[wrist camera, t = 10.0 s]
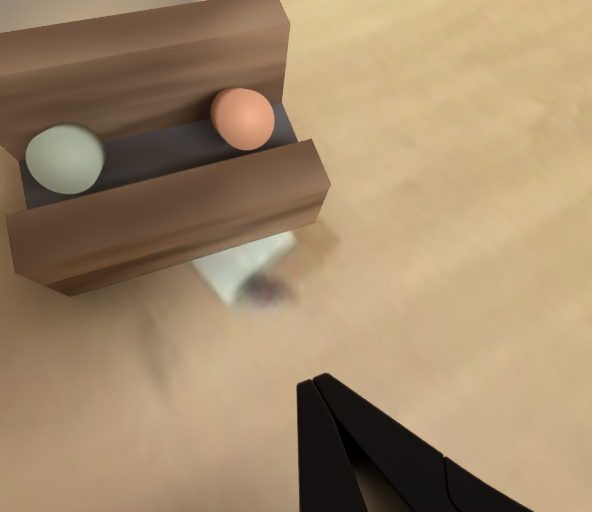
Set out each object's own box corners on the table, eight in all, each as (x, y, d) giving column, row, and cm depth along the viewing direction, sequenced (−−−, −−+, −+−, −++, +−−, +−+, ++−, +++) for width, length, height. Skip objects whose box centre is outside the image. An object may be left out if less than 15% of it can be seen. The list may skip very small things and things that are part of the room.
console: (314, 222, 26) (345, 146, 17) (70, 296, 22) (-42, 247, 14) (267, 106, 28) (274, -11, 20) (41, 157, 25) (-68, 43, 16)
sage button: (123, 203, 21) (92, 162, 17) (66, 218, 20) (19, 179, 16) (107, 140, 22) (74, 86, 18) (52, 152, 21) (5, 100, 17)
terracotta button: (276, 163, 22) (282, 117, 18) (228, 176, 22) (223, 131, 18) (254, 107, 24) (255, 52, 20) (208, 117, 23) (198, 62, 19)
